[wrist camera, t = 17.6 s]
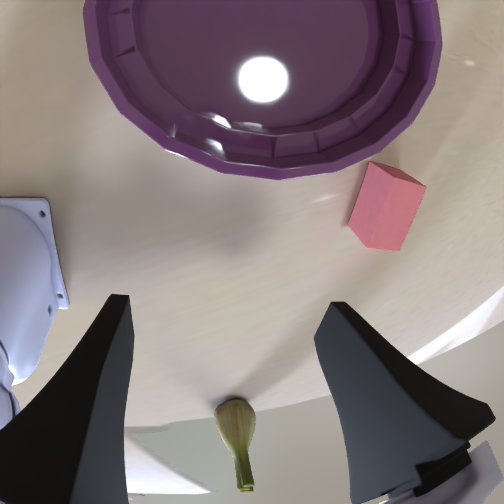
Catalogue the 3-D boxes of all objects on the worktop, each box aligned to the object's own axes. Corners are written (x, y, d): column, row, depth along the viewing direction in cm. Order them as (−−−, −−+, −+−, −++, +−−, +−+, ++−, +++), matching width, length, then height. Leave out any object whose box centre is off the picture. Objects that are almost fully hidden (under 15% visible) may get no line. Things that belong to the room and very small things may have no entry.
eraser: (378, 229, 21) (399, 251, 18) (347, 225, 20) (366, 248, 18) (401, 170, 18) (426, 186, 16) (369, 160, 17) (394, 176, 15)
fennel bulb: (226, 391, 30) (242, 488, 21) (262, 396, 32) (283, 484, 23) (206, 410, 33) (216, 496, 23) (239, 414, 35) (254, 494, 25)
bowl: (365, 177, 18) (398, 202, 15) (94, 144, 14) (67, 165, 11) (412, -33, 9) (450, -41, 6) (152, -100, 5) (144, -130, 2)
